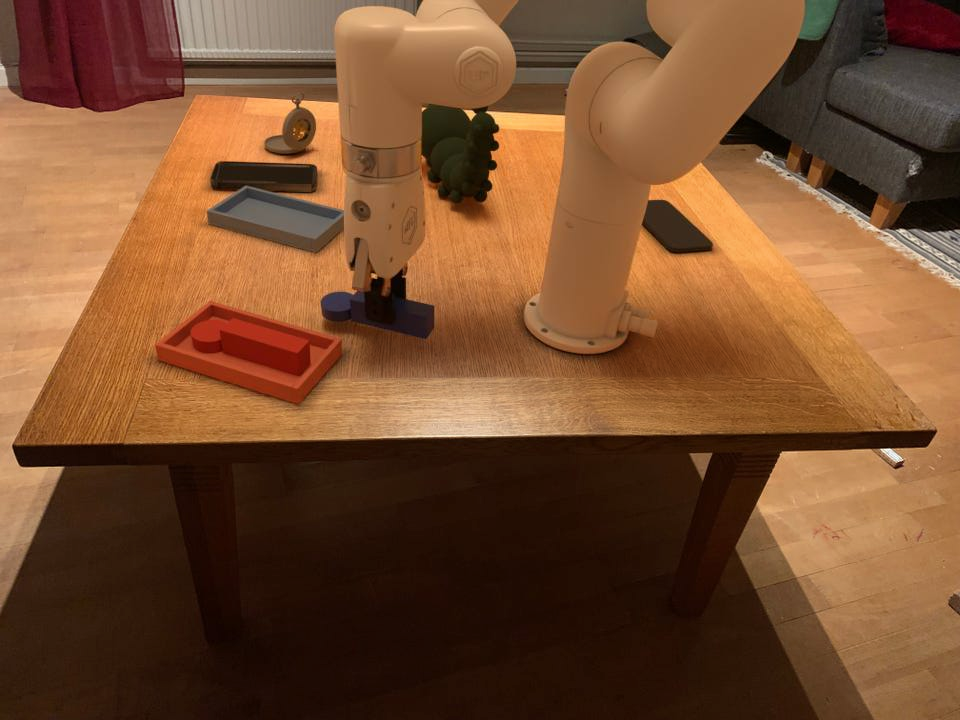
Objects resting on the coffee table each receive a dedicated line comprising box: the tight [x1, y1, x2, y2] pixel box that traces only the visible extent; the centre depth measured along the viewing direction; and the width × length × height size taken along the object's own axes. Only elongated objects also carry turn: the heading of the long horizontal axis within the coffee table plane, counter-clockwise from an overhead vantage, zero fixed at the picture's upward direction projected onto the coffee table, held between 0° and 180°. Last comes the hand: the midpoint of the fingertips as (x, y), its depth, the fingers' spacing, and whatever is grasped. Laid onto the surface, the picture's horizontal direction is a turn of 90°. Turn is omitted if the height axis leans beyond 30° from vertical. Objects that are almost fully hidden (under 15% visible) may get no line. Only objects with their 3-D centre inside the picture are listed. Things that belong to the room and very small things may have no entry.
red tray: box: [154, 300, 343, 405], centre depth 77 cm, size 16×9×2 cm, turn 71°
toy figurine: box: [422, 103, 500, 205], centre depth 111 cm, size 9×19×25 cm
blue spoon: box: [320, 290, 436, 340], centre depth 81 cm, size 13×4×3 cm, turn 71°
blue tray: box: [206, 186, 344, 254], centre depth 100 cm, size 16×9×2 cm, turn 71°
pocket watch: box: [263, 92, 317, 155], centre depth 118 cm, size 8×8×10 cm
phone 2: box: [642, 199, 714, 253], centre depth 111 cm, size 7×1×15 cm
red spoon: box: [191, 318, 311, 376], centre depth 76 cm, size 13×4×3 cm, turn 71°
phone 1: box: [209, 160, 318, 193], centre depth 111 cm, size 8×1×15 cm
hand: (386, 312), depth 81 cm, fingers closed on blue spoon, 2 cm apart
